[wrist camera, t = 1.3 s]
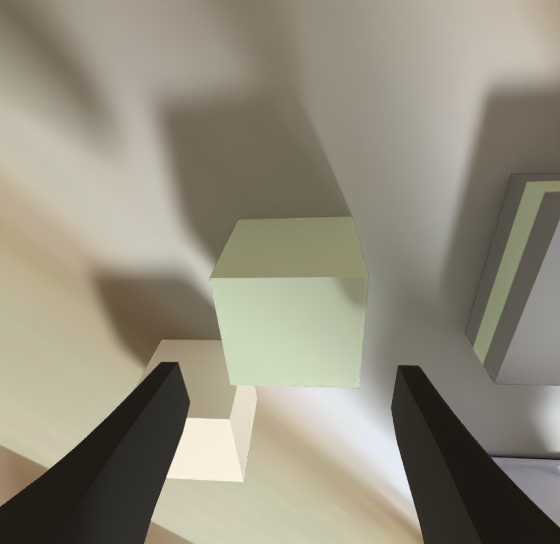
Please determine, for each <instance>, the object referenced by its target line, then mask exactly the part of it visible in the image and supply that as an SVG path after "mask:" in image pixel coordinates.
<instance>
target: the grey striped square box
mask: <svg viewBox="0 0 560 544" xmlns="http://www.w3.org/2000/svg"><path fill="white" fill-rule="evenodd" d="M465 334H466V335H467V337H468V339H469V341H470V342H471V344H472V346H473V350H474V352H475V354H476V356H477V357H478V359H479V361H480V363H481V364H482V366H484V367H485V369H486V370H487V372H488V374H489V376H490V377H491V379H492V381H493V382H494V384H513V385H548V386H560V173H540V174H512V175H511V179H510V182H509V185H508V189H507V192H506V196H505V199H504V202H503V206H502V209H501V212H500V216H499V219H498V223H497V226H496V229H495V233H494V236H493V240H492V243H491V246H490V250H489V253H488V256H487V260H486V263H485V267H484V270H483V273H482V277H481V280H480V284H479V287H478V290H477V294H476V297H475V300H474V304H473V307H472V311H471V314H470V317H469V321H468V324H467V327H466V331H465Z"/></svg>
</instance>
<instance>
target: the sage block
mask: <svg viewBox="0 0 560 544" xmlns="http://www.w3.org/2000/svg"><path fill="white" fill-rule="evenodd" d="M209 279H210V284H211V289H212V294H213V299H214V304H215V309H216V314H217V319H218V324H219V329H220V334H221V339H222V344H223V349H224V354H225V359H226V364H227V369H228V374H229V379H230V384H231V385H247V386H286V387H326V388H359V384H360V372H361V360H362V349H363V337H364V325H365V314H366V302H367V290H368V279H369V276H368V273H367V269H366V265H365V261H364V258H363V254H362V250H361V246H360V243H359V239H358V235H357V231H356V228H355V224H354V220H353V217H352V216H349V217H312V218H276V219H239V220H238V221H237V223H236V225H235V227H234V229H233V231H232V233H231V235H230V237H229V239H228V241H227V243H226V246H225V248H224V250H223V252H222V254H221V256H220V258H219V260H218V262H217V264H216V266H215V268H214V270H213V272H212V274H211V276H210V278H209Z"/></svg>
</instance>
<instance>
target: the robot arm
mask: <svg viewBox="0 0 560 544" xmlns="http://www.w3.org/2000/svg"><path fill="white" fill-rule="evenodd" d="M189 406H190V399H189V396H188V392H187V389H186V386H185V383H184V379H183V376H182V373H181V369H180V366H179V363H178V362H160V363H159V364H158V365H157V366H156V367H155V368H154V369H153V371H152V372H151V373H150V374H149V375H148V376H147V377H146V378H145V379H144V380H143V381H142V382H141V383H140V384H139V385H138V386H137V387H136V388H135V389H134V390H133V392H132V393H131V394H130V395H129V396H128V397H127V398H126V399H125V400H124V401H123V402H122V403H121V404H120V405H119V406H118V407H117V408H116V409H115V410H114V411H113V412H112V413H111V414H110V415H109V416H108V417H107V418H106V419H105V420H104V421H103V422H102V423H101V424H100V425H99V426H98V427H96V428H95V429H94V430H93V431H92V432H91V433H90V434H89V435H88V436H87V437H86V438H85V439H84V440H83V441H82V442H81V443H79V444H78V445H77V446H76V447H75V448H74V449H73V450H72V451H70V452H69V453H68V454H67V455H66V456H65V457H63V458H62V459H61V460H60V461H59V462H57V463H56V464H55V465H54V466H53V467H51V468H50V469H49V470H48V471H47V472H46V473H44V474H43V475H42V476H41V477H39V478H38V479H37V480H35V481H34V482H33V483H31V484H30V485H29V486H27V487H26V488H25V489H23V490H22V491H21V492H19V493H18V494H17V495H15V496H14V497H13V498H11V499H10V500H9V501H7V502H6V503H5V504H3V505H2V506H1V507H0V544H144V542H145V538H146V535H147V531H148V528H149V524H150V521H151V518H152V515H153V512H154V509H155V506H156V503H157V500H158V498H159V495H160V492H161V490H162V487H163V485H164V482H165V479H166V477H167V474H168V471H169V469H170V466H171V463H172V461H173V458H174V456H175V453H176V450H177V447H178V445H179V442H180V439H181V437H182V434H183V430H184V427H185V423H186V419H187V415H188V410H189ZM391 410H392V416H393V422H394V428H395V434H396V440H397V444H398V447H399V451H400V455H401V458H402V462H403V465H404V469H405V473H406V476H407V480H408V483H409V487H410V490H411V494H412V497H413V501H414V505H415V508H416V512H417V515H418V519H419V523H420V527H421V531H422V535H423V540H424V544H560V460H544V459H520V458H496V457H490V456H489V455H488V453H487V452H486V451H485V450H484V449H483V448H482V447H481V446H480V444H479V443H478V442H477V441H476V440H475V438H474V437H473V436H472V435H471V434H470V432H469V431H468V430H467V429H466V428H465V426H464V425H463V424H462V423H461V421H460V420H459V419H458V418H457V416H456V415H455V414H454V413H453V411H452V410H451V409H450V408H449V406H448V405H447V404H446V402H445V401H444V400H443V398H442V397H441V396H440V394H439V393H438V392H437V390H436V389H435V387H434V386H433V385H432V383H431V382H430V380H429V379H428V378H427V376H426V375H425V373H424V372H423V370H422V369H421V368H420V367H419V366H408V365H398V369H397V375H396V381H395V388H394V394H393V400H392V406H391Z"/></svg>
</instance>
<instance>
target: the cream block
mask: <svg viewBox="0 0 560 544" xmlns="http://www.w3.org/2000/svg"><path fill="white" fill-rule="evenodd" d="M160 362H178V363H179V366H180V369H181V373H182V376H183V379H184V383H185V386H186V389H187V392H188V396H189V399H190V406H189V410H188V415H187V419H186V423H185V427H184V430H183V434H182V437H181V439H180V442H179V445H178V447H177V450H176V453H175V456H174V458H173V461H172V463H171V466H170V469H169V471H168V474H167V477H166V478H177V479H196V480H215V481H234V482H243V481H244V475H245V469H246V463H247V457H248V451H249V445H250V439H251V433H252V427H253V421H254V415H255V409H256V403H257V397H256V390H255V386H247V385H231V384H230V379H229V374H228V369H227V364H226V359H225V354H224V349H223V344H222V340H161V342H160V344H159V346H158V347H157V349H156V351H155V353H154V355H153V356H152V358H151V360H150V362H149V363H148V365H147V367H146V369H145V371H144V372H143V374H142V376H141V378H140V380H139V381H138V383H137V385H136V387H137V386H138V385H139V384H140V383H141V382H142V381H143V380H144V379H145V378H146V377H147V376H148V375H149V374H150V373H151V372H152V371H153V369H154V368H155V367H156V366H157V365H158V364H159V363H160ZM136 387H135V388H136Z"/></svg>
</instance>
